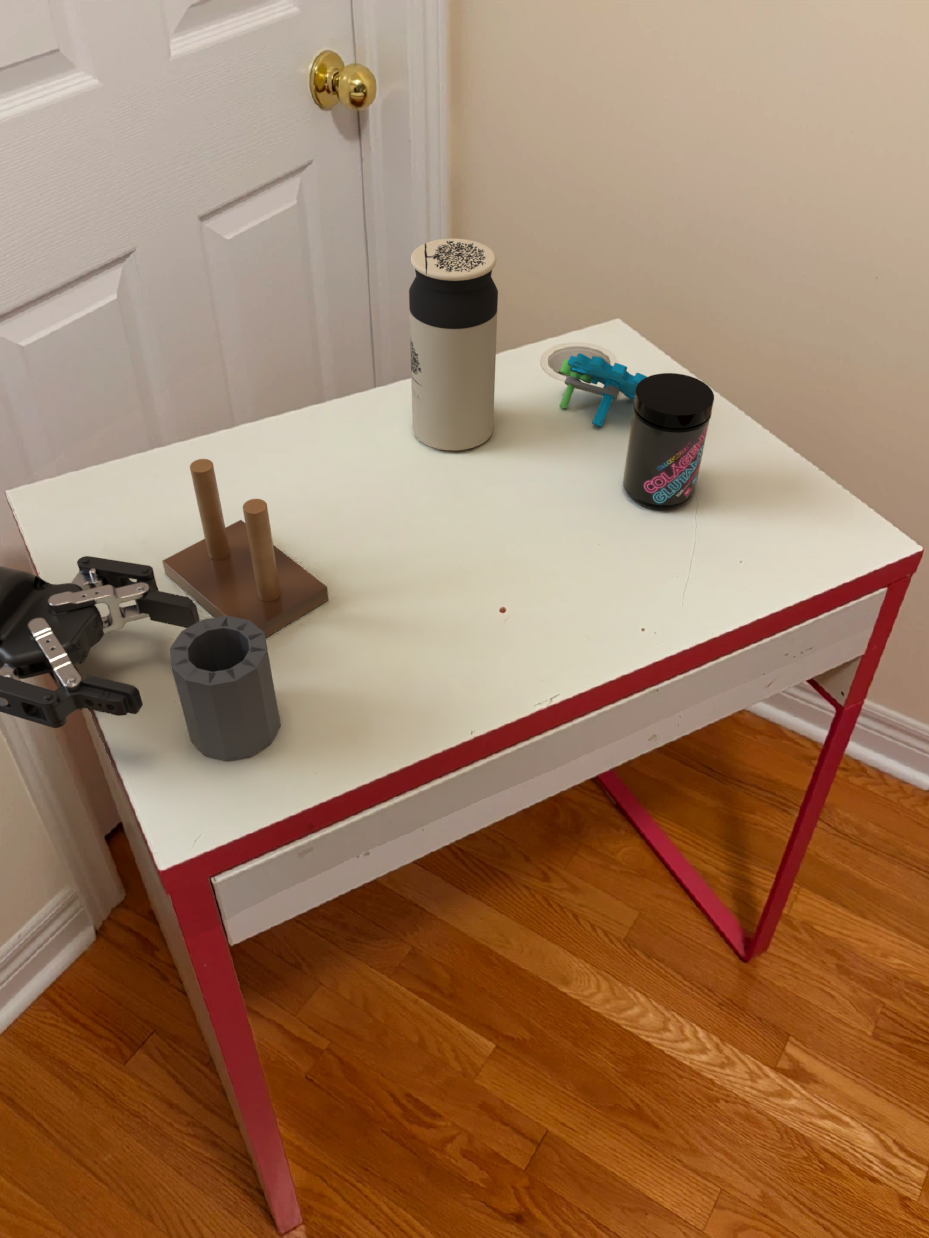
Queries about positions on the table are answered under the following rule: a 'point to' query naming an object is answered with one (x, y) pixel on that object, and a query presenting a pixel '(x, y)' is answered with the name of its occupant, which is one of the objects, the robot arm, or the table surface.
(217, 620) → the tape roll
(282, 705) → the table surface
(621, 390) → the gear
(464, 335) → the travel mug
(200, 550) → the rack
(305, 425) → the table surface
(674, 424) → the supplement container
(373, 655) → the table surface
